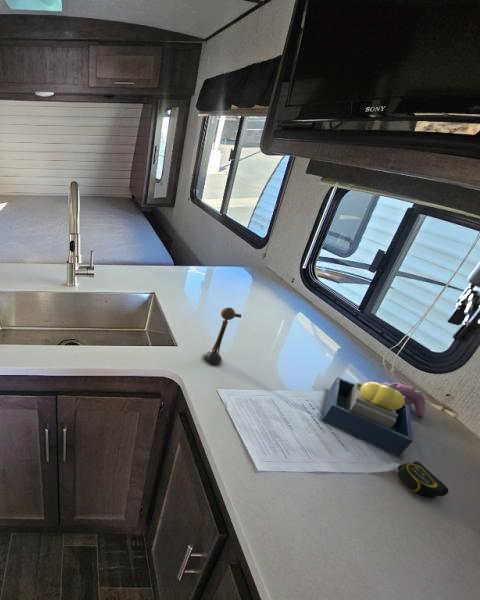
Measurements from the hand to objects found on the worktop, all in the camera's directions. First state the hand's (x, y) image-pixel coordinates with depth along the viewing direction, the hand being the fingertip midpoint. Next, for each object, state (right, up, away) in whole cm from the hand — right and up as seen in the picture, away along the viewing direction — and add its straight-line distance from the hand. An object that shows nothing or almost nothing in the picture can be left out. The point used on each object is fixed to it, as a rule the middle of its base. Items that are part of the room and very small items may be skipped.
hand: (455, 331), depth 72 cm
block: (-11, -25, +12) cm, 30 cm away
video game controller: (+4, -23, +18) cm, 29 cm away
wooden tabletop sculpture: (-42, -13, +31) cm, 53 cm away
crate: (-11, -25, +12) cm, 30 cm away
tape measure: (-11, -34, -2) cm, 35 cm away
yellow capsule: (-10, -18, +8) cm, 22 cm away
